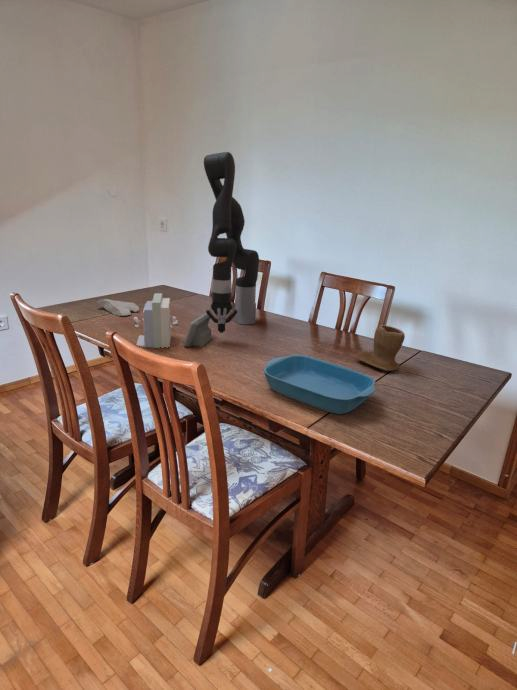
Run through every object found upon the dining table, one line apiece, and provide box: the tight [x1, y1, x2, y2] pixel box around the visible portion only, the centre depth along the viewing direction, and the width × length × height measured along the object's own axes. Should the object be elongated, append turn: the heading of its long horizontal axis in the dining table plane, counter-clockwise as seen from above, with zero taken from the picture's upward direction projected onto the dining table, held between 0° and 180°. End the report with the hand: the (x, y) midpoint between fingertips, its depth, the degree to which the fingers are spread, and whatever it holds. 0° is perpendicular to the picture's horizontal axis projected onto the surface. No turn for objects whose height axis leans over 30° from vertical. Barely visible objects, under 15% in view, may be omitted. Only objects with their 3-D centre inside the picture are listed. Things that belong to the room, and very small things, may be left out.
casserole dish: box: [263, 354, 377, 415], centre depth 141 cm, size 37×22×7 cm, turn 51°
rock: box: [96, 298, 140, 317], centre depth 216 cm, size 21×5×15 cm
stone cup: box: [354, 324, 406, 372], centre depth 163 cm, size 15×12×15 cm
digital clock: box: [183, 312, 212, 348], centre depth 179 cm, size 16×9×11 cm, turn 151°
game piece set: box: [133, 316, 179, 331], centre depth 200 cm, size 19×20×4 cm
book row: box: [135, 292, 172, 349], centre depth 176 cm, size 13×14×18 cm
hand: (221, 332), depth 181 cm, fingers closed
